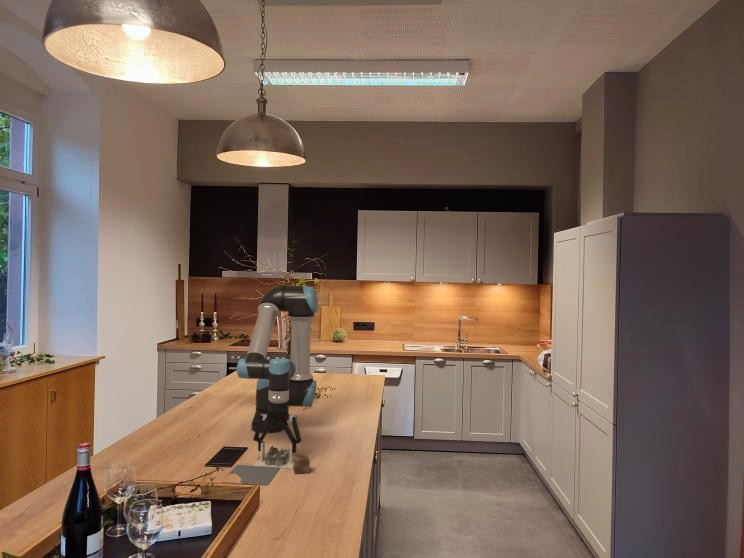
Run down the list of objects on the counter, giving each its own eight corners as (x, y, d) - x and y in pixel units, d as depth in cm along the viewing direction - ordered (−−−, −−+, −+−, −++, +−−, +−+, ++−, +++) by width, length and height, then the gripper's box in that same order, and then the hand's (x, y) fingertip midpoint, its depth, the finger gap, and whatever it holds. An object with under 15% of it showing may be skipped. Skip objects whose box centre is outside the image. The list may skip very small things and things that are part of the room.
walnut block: (294, 474, 184) (295, 460, 184) (293, 469, 188) (293, 455, 188) (309, 473, 185) (309, 459, 185) (307, 468, 190) (307, 454, 190)
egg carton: (271, 455, 201) (272, 445, 201) (290, 457, 200) (291, 446, 200) (261, 465, 191) (262, 453, 191) (281, 466, 190) (282, 455, 190)
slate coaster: (220, 482, 175) (220, 481, 175) (237, 465, 191) (237, 464, 191) (267, 485, 173) (267, 484, 173) (280, 467, 189) (280, 467, 189)
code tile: (253, 466, 190) (253, 465, 190) (263, 455, 202) (263, 454, 202) (291, 468, 189) (291, 468, 189) (299, 457, 201) (299, 456, 201)
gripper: (245, 401, 193) (243, 462, 193) (306, 404, 191) (305, 466, 191) (251, 397, 200) (250, 455, 200) (310, 400, 198) (309, 459, 198)
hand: (276, 460), depth 196 cm, fingers closed on code tile, 10 cm apart
